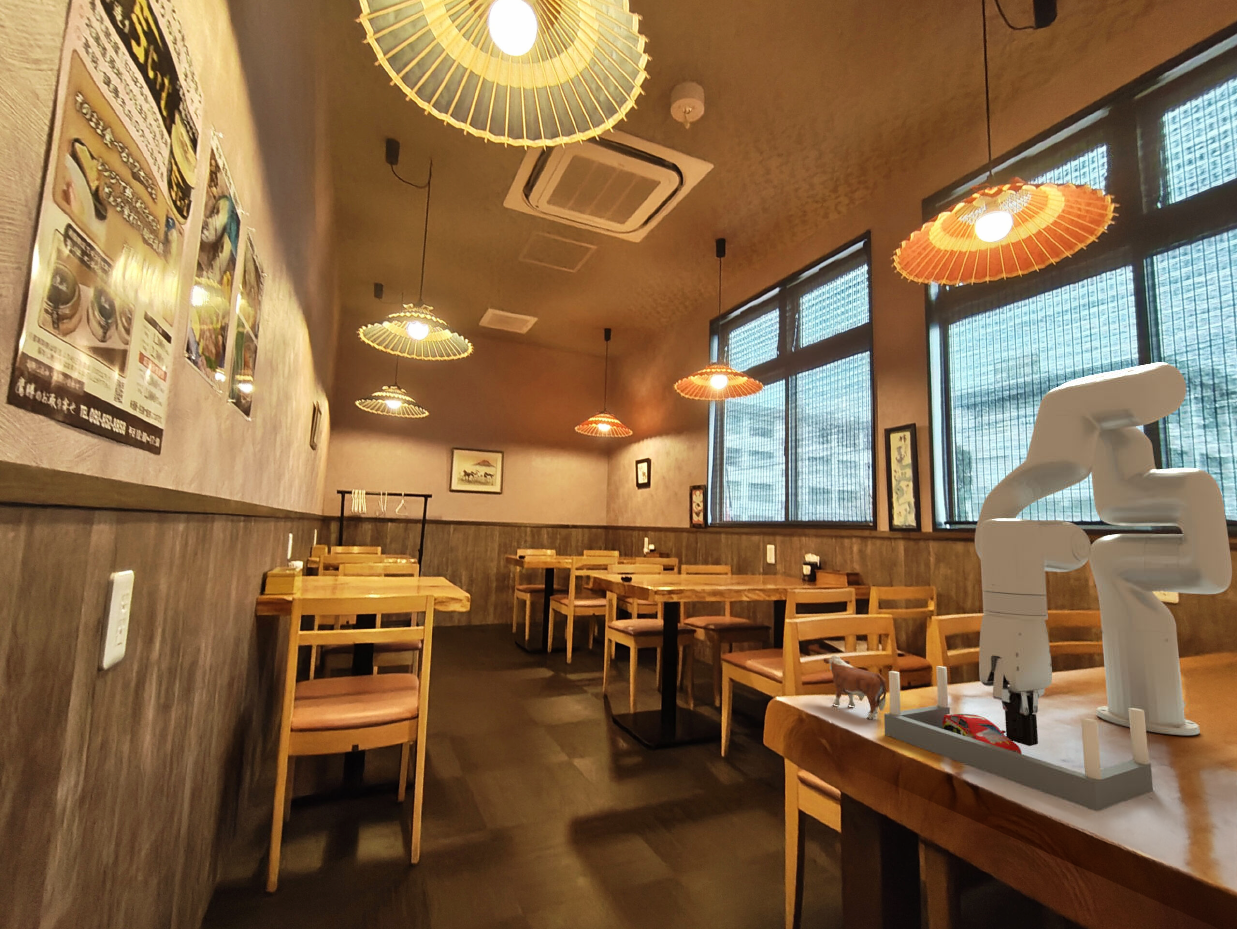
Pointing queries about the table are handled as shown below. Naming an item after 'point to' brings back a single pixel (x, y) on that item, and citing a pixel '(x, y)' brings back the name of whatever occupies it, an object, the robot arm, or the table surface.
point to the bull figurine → (857, 684)
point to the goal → (1055, 780)
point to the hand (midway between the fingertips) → (1022, 741)
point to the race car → (978, 730)
